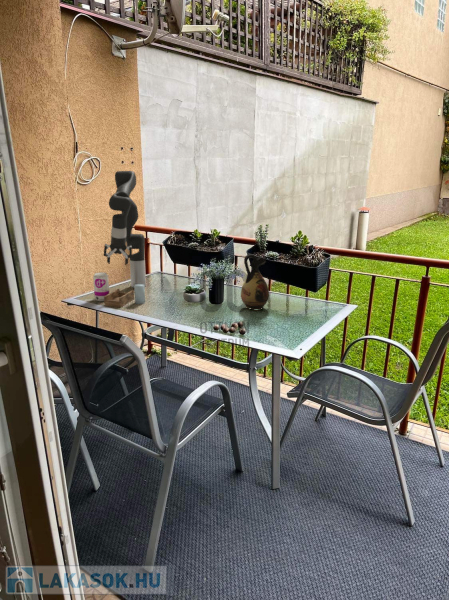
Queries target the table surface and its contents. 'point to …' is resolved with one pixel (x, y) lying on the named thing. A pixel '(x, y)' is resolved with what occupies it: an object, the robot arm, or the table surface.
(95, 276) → the supplement can
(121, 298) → the wooden serving tray
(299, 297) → the table surface
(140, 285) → the domed pale cylinder
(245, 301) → the ceramic jug
